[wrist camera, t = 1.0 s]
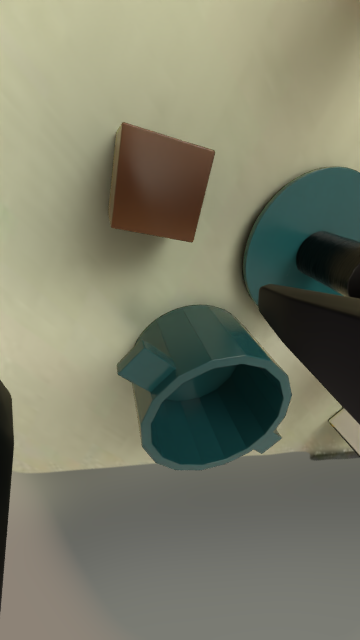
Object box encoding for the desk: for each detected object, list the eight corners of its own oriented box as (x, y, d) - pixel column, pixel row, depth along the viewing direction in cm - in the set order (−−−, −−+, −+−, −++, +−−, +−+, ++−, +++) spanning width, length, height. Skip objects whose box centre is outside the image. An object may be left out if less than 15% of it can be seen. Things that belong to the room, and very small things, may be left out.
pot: (172, 256, 20) (204, 297, 14) (279, 359, 29) (328, 413, 23) (76, 357, 23) (68, 431, 16) (202, 425, 31) (228, 490, 25)
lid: (339, 123, 19) (439, 108, 13) (387, 245, 25) (469, 268, 20) (210, 255, 21) (249, 288, 16) (284, 335, 28) (331, 379, 22)
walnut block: (116, 131, 16) (122, 121, 12) (189, 153, 17) (216, 150, 13) (107, 213, 18) (110, 227, 14) (174, 226, 19) (193, 243, 16)
